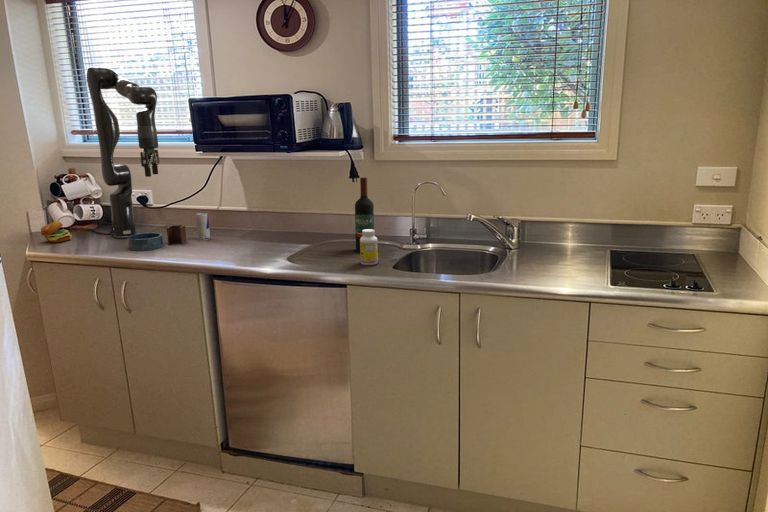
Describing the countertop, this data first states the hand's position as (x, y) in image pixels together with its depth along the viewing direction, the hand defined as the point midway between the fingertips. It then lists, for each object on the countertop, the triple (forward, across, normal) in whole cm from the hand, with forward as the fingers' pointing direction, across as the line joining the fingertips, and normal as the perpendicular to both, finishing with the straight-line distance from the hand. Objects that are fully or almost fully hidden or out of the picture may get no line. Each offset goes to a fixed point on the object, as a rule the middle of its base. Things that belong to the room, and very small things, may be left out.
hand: (151, 175), depth 242 cm
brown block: (+30, +1, +8) cm, 31 cm away
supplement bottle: (+30, +38, +92) cm, 104 cm away
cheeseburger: (+30, -10, -49) cm, 58 cm away
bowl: (+30, +8, -3) cm, 31 cm away
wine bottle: (+30, +18, +90) cm, 97 cm away
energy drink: (+30, -7, +17) cm, 36 cm away
